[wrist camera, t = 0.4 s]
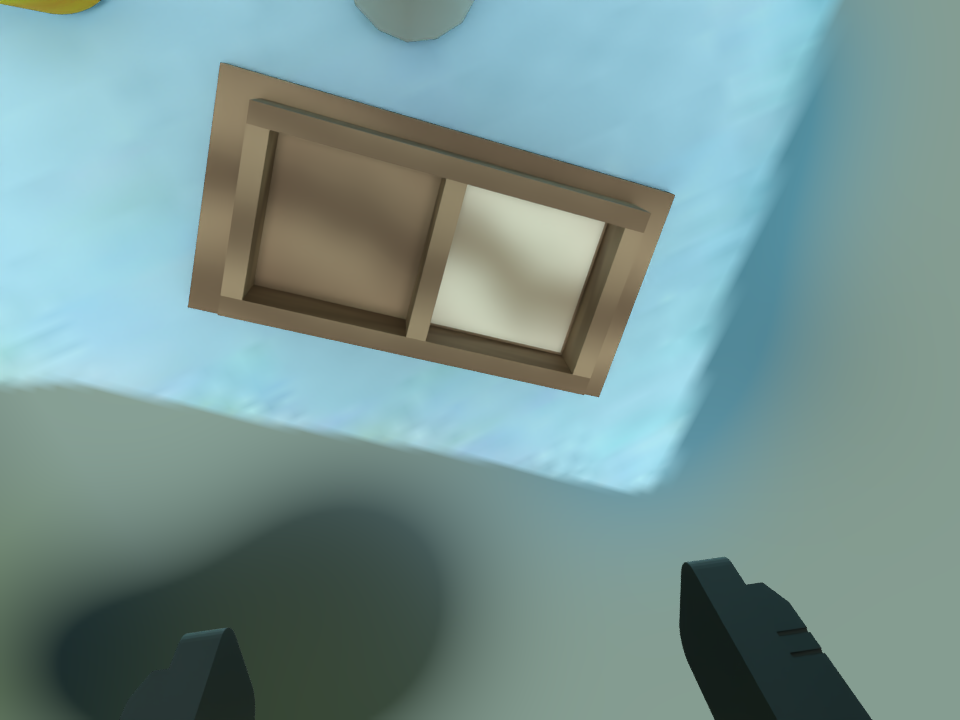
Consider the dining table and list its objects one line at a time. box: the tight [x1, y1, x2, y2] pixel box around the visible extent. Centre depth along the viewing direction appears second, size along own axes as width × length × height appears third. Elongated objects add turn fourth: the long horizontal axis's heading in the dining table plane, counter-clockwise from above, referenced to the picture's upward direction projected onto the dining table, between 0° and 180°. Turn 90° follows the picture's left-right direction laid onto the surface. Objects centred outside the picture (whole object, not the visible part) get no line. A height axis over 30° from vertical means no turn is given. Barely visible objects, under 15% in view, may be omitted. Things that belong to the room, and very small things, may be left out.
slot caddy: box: [188, 63, 675, 397], centre depth 34 cm, size 12×23×4 cm, turn 74°
